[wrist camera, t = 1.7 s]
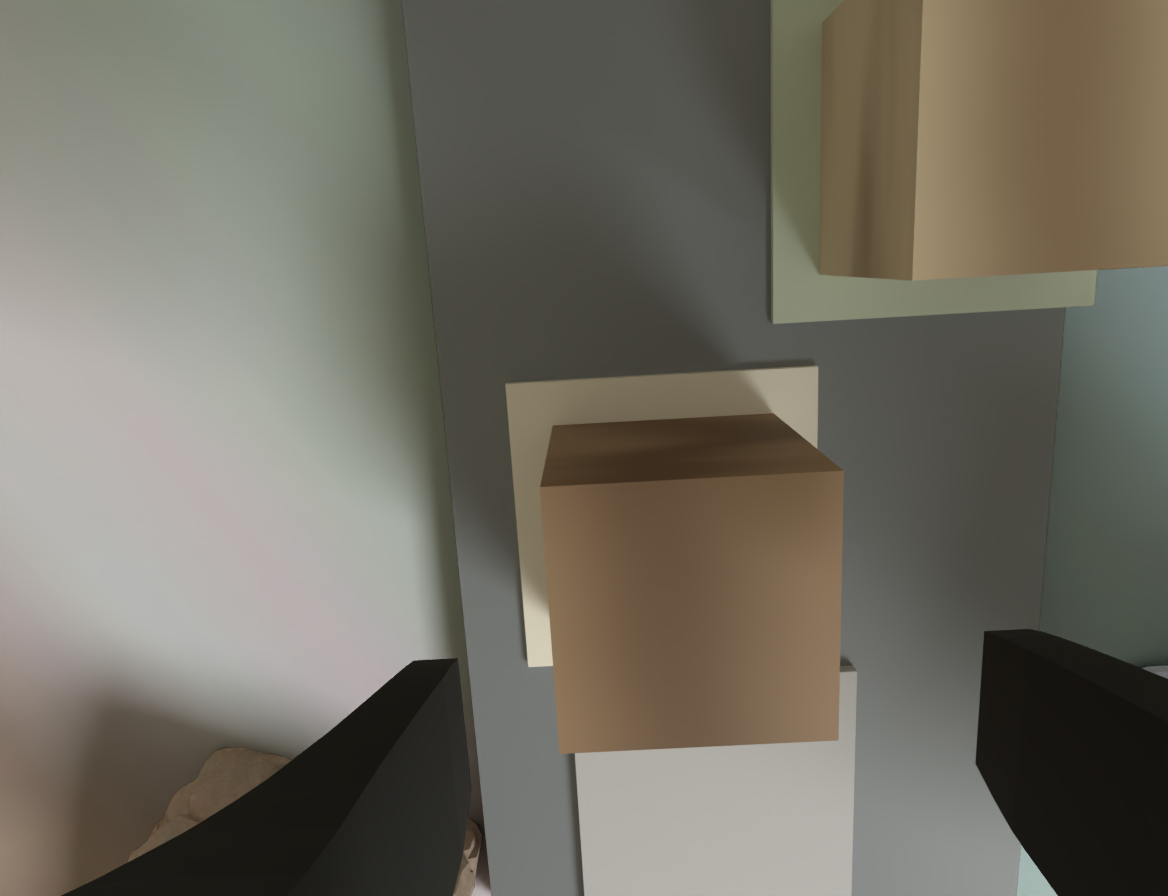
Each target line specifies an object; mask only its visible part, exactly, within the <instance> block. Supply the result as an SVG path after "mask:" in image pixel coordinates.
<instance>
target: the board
mask: <svg viewBox="0 0 1168 896" xmlns="http://www.w3.org/2000/svg"><path fill="white" fill-rule="evenodd" d="M843 1H844V0H402V9H403V19H404V29H405V39H406V49H407V59H408V69H409V79H410V89H411V99H412V109H413V119H414V129H415V139H416V148H417V158H418V168H419V178H420V188H421V198H422V208H423V218H424V228H425V238H426V248H427V258H428V268H429V278H430V288H431V298H432V308H433V318H434V328H435V338H436V348H437V358H438V368H439V378H440V388H441V398H442V408H443V417H444V427H445V437H446V447H447V457H448V467H449V477H450V487H451V497H452V507H453V517H454V527H455V537H456V547H457V557H458V567H459V577H460V587H461V597H462V607H463V617H464V627H465V637H466V647H467V657H468V667H469V677H470V687H471V696H472V706H473V716H474V726H475V736H476V746H477V756H478V766H479V776H480V786H481V796H482V806H483V816H484V826H485V836H486V846H487V856H488V866H489V876H490V886H491V896H584V882H583V867H582V852H581V838H580V823H579V808H578V793H577V779H576V764H575V753H569V754H559V741H558V727H557V713H556V700H555V686H554V672H553V658H552V645H551V631H550V617H549V604H548V590H547V576H546V563H545V549H544V535H543V521H542V508H541V494H540V485H541V480H542V475H543V470H544V465H545V460H546V456H547V451H548V446H549V441H550V436H551V431H552V427H553V425H570V424H588V423H606V422H624V421H643V420H661V419H679V418H697V417H715V416H733V415H751V414H769V413H774V414H775V415H776V416H778V417H779V418H780V419H781V420H782V421H784V422H785V423H786V424H787V425H789V426H790V427H791V428H792V429H793V430H795V431H796V432H797V433H798V434H800V435H801V436H802V437H803V438H804V439H806V440H807V441H808V442H809V443H811V444H812V445H813V446H814V447H816V448H817V449H818V450H819V451H820V452H822V453H823V454H824V455H825V456H827V457H828V458H829V459H830V460H831V461H833V462H834V463H835V464H836V465H838V466H839V467H840V468H841V469H842V470H844V489H843V540H842V590H841V641H840V666H848V665H853V666H854V667H855V669H856V670H857V697H856V737H855V776H854V816H853V855H852V895H851V896H1017V886H1018V874H1019V862H1020V850H1021V844H1020V842H1019V841H1018V839H1017V838H1016V836H1015V835H1014V833H1013V832H1012V830H1011V829H1010V827H1009V825H1008V823H1007V822H1006V820H1005V818H1004V816H1003V815H1002V813H1001V811H1000V809H999V808H998V806H997V804H996V802H995V800H994V799H993V797H992V795H991V793H990V791H989V789H988V787H987V785H986V783H985V781H984V779H983V777H982V776H981V774H980V772H979V770H978V768H977V766H976V764H975V761H976V746H977V731H978V716H979V701H980V686H981V671H982V656H983V641H984V631H996V630H1016V629H1032V630H1036V631H1039V621H1040V609H1041V597H1042V585H1043V573H1044V561H1045V549H1046V537H1047V525H1048V513H1049V501H1050V489H1051V477H1052V465H1053V453H1054V441H1055V429H1056V417H1057V404H1058V392H1059V380H1060V368H1061V356H1062V344H1063V332H1064V320H1065V308H1066V307H1079V306H1094V301H1095V290H1096V279H1097V270H1086V271H1069V272H1051V273H1034V274H1017V275H1000V276H983V277H965V278H948V279H931V280H914V281H911V280H895V279H878V278H862V277H845V276H829V275H820V192H821V106H822V22H823V21H824V20H825V19H826V18H827V17H828V16H829V15H830V14H831V13H832V12H833V11H834V10H835V9H836V8H837V7H838V6H839V5H840V4H841V3H842V2H843Z"/></svg>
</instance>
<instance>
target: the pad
mask: <svg viewBox="0 0 1168 896" xmlns="http://www.w3.org/2000/svg"><path fill="white" fill-rule="evenodd" d="M856 697H857V670H856V669H855V667H854V666H853V665H848V666H840V692H839V740H837V741H817V742H796V743H775V744H755V745H734V746H713V747H693V748H672V749H652V750H631V751H610V752H590V753H575V764H576V779H577V793H578V808H579V823H580V838H581V852H582V867H583V882H584V896H851V895H852V855H853V816H854V776H855V737H856Z"/></svg>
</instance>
